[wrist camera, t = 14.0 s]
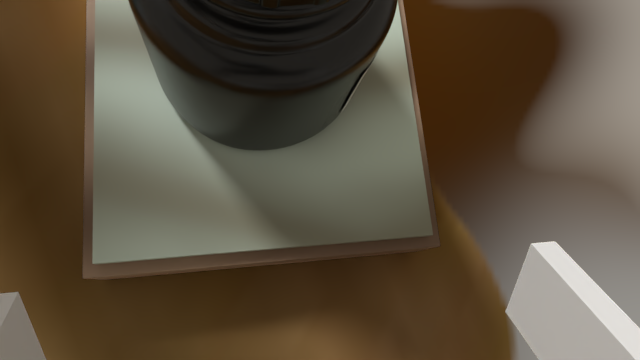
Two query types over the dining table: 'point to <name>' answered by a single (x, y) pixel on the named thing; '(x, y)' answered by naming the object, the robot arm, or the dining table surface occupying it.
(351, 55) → the ink bottle
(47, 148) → the dining table surface
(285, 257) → the mat platform
